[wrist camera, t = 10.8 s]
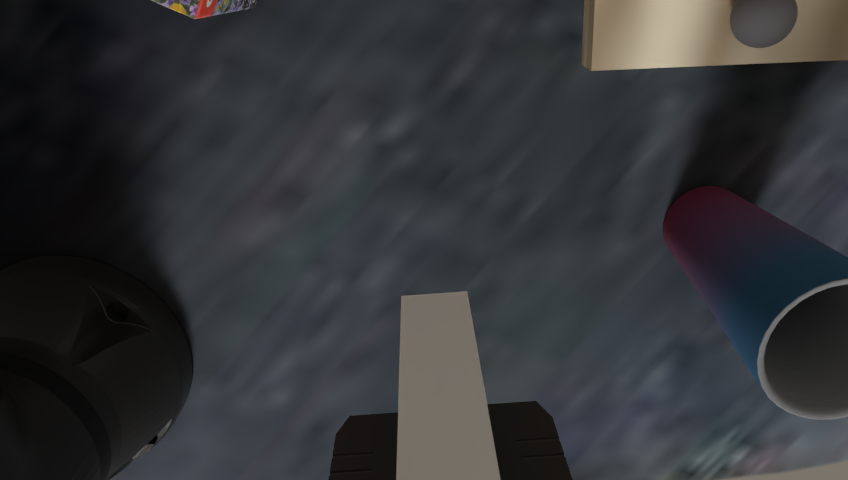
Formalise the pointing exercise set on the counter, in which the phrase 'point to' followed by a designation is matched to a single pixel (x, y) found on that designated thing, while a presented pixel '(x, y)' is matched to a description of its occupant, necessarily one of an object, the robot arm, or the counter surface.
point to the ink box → (206, 6)
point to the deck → (702, 34)
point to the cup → (769, 296)
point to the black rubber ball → (762, 21)
